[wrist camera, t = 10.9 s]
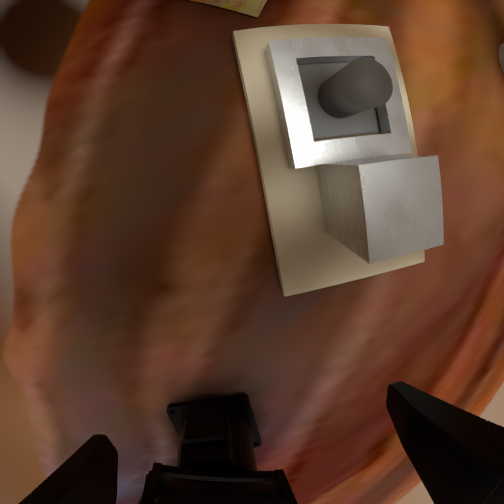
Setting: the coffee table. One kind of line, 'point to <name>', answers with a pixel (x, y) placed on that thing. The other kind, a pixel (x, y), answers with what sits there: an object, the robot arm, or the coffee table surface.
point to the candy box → (238, 5)
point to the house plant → (501, 56)
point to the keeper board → (323, 128)
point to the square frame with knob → (360, 157)
